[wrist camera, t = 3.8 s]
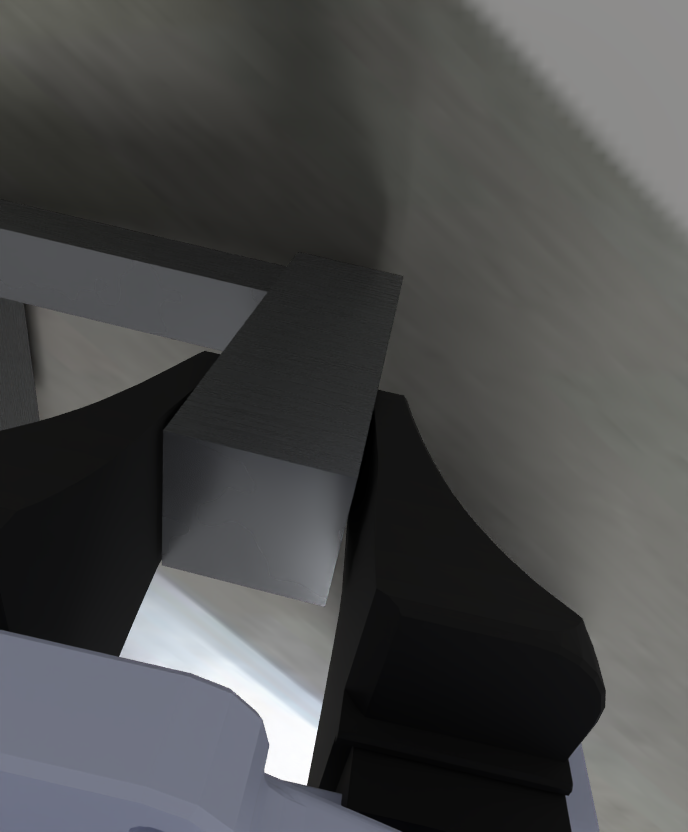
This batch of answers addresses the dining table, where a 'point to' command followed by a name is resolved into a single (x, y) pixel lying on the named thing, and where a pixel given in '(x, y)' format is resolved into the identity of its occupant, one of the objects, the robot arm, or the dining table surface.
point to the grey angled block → (222, 384)
